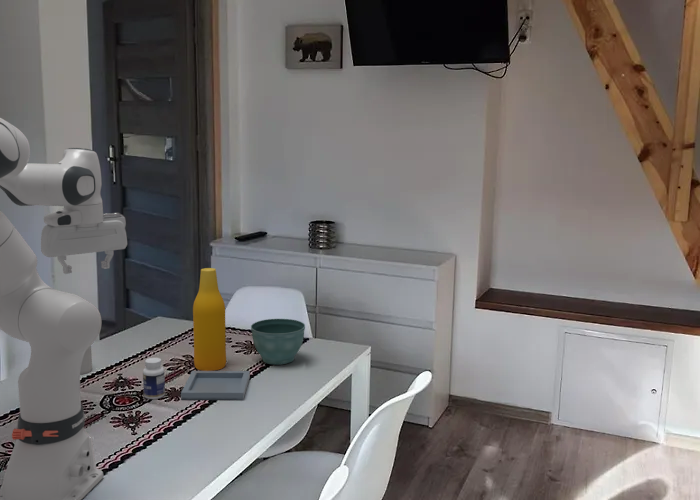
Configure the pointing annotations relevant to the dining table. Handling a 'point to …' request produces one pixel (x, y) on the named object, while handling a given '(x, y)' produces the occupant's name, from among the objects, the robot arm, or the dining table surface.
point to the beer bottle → (209, 324)
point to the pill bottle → (153, 379)
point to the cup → (86, 362)
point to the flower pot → (278, 339)
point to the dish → (216, 385)
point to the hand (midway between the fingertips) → (86, 270)
